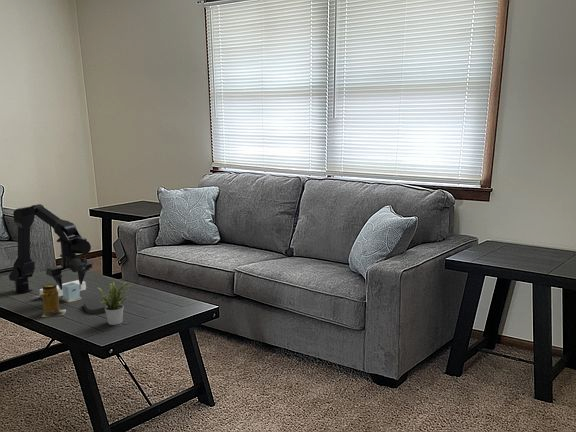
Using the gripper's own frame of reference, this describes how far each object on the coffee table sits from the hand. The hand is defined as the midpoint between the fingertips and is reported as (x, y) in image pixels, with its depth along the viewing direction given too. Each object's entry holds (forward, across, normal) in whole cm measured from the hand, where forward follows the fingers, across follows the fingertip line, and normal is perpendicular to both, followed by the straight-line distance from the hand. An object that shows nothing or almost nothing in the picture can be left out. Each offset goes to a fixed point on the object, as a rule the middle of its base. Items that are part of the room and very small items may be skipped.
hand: (71, 286), depth 239 cm
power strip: (+6, -1, +10) cm, 12 cm away
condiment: (+6, -14, -11) cm, 19 cm away
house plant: (+6, -4, -41) cm, 42 cm away
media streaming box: (+6, +3, -20) cm, 21 cm away
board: (+6, 0, 0) cm, 6 cm away
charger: (+5, 0, +1) cm, 5 cm away
